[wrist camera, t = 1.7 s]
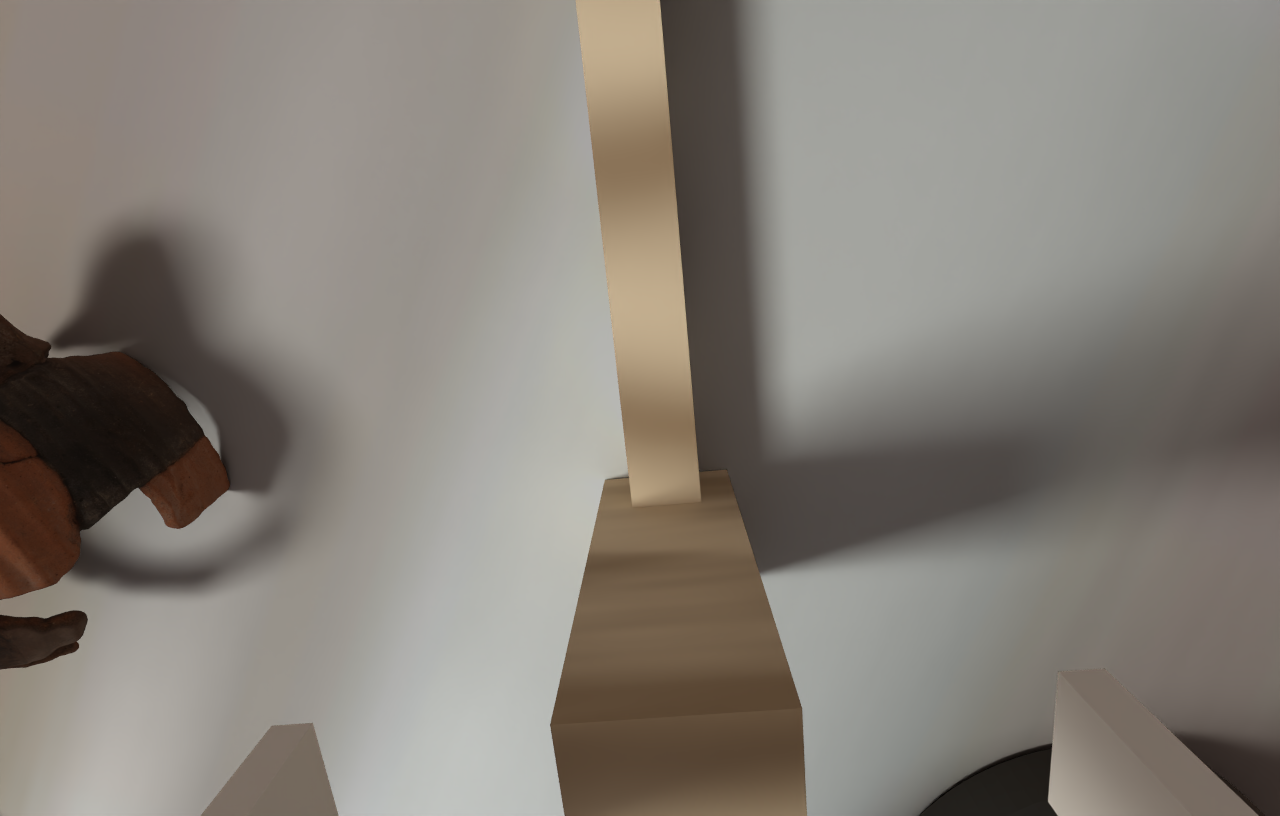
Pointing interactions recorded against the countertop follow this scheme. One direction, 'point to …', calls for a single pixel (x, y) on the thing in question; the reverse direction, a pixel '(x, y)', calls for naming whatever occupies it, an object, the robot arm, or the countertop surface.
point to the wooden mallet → (663, 515)
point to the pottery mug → (83, 471)
